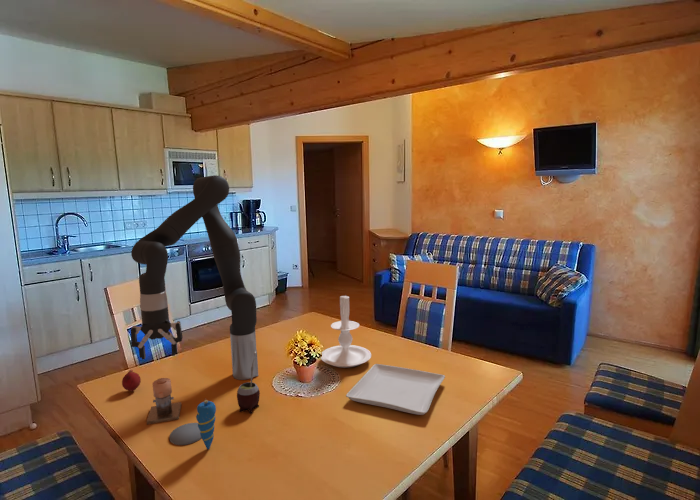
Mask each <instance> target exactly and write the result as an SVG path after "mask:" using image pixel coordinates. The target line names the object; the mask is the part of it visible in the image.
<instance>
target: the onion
mask: <svg viewBox="0 0 700 500" xmlns="http://www.w3.org/2000/svg"><path fill="white" fill-rule="evenodd" d="M141 381H142V379H141V376H140V375H139V374H138V373H137V372H134V371H133V369H129V370H128V372H127V373H126V374H125V375H124V376H123V377H122V380H121V385H122V387H123V389H124V390H126V391H128V392H134V391H135V390H136V389H137V388H139V386H140V385H141Z"/></svg>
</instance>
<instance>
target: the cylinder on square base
mask: <svg viewBox="0 0 700 500" xmlns="http://www.w3.org/2000/svg"><path fill="white" fill-rule="evenodd" d="M171 395H172V393H171V394H170V395H169V396H166V397H163V398H155V397H154V398H155V399H152V403H153V404H154V403H155V405H154V406H153V405H152V406H151V407H150V409H149V413H148V416H147V419H146V425H153V424H158V423H164V422H169V421H177V420H179V419H180V414H181V408H182V401H178V402H172V400H174V398H175V397H174V396H171Z"/></svg>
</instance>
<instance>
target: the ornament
mask: <svg viewBox="0 0 700 500" xmlns="http://www.w3.org/2000/svg"><path fill="white" fill-rule="evenodd" d="M196 412H197V413H196V416H195V418H196V419H195V420H196V421H197V423H198V428H199V430H200V435H201V440H202V441H203V443H204V445H205V448H206V449H207V450H210V448H211V446H212V444H213V440H214V436H215V435H214V432H215V422H216V412H217V407H216V404H215V402H213V401H210V400H208V399H207V398H204V401H202V402H200V403H199V404H198V405H197V407H196Z"/></svg>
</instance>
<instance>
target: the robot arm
mask: <svg viewBox="0 0 700 500" xmlns="http://www.w3.org/2000/svg"><path fill="white" fill-rule="evenodd" d="M192 192H193V196H194V198H193V199H192V200H191V201H189V202H187V203H186V204H184V205H183V206H182V207H180V208H179V209H177V210H176V211H174V212H173V213H171V214H170V215H168V216H167V218H166V219H165V220H164V221H163V222H161V224H159V225H158V227H157V228H155V229H154V230H152V231H150V232H149V233H147V234H145V235H144V236H142V237H141V238H140V239H139V240H137V241H136V242H135V243H134V244H133V247H132V249H131V258H132V260H133V261H134V262H135V263H137V264H141V265H145V266H146V267H145V272H143V273H141V274H140V275H139V278H138V284H139V293H140V294H139V296H140V297H139V308H140V315H141V316H140V317H141V326H140V325H139V326H136V325H133V326H132V327H131V329H130V346H131V347H132V348H137V349H138V354H139V355H138V356H139V358H140V359H142V360H145V359H147V358H146V354H147V353H146V346H145V344H146V342H147V341H148V340H149V339H150V340H156V339H159V340H161V339H163V338H164V339H166V340H167V341H169V343H170V344H171V345H170V347H171V356H173V357H174V356H175V355H176V354H177V352H178V343H179V342H182V341H183V331H182V325H181V324H182V323H181V321H180V320H177V321H175V322H173V323H171V321H170V315H169V305H168V304H169V302H168V296H167V290H166V281H165V280H166V279H165V277H166V272H167V266H168V262H169V254H168V249H167V248H166V247H169V246H173V245H175V244H176V243H177V242H179V240H180V239H181V238H182V237H183V236H184V235H185V234H186V233H187V232H188V231H189V230H190V229H191V228H192V227H193V226H194V225H195V223H197V222H198V221H200V219H201V218H202V220H203V223H204V227H205V229H206V232H207V233H206V234H207V236H208V239H209V245H210V249H211V251H212V255H213V258H214V261H215V264H216V268H217V270H218V273H219V275H220V279H221V282H222V288H223V289H222V290H223V294H224V300H225V304H226V307H227V308H228V310H230V311H231V312H230V314H231V324H230V325H229V336H230V337H229V338H230V350H231V351H230V353H231V367H232V377H233V378H234V379H235V380H239V381H242V380H243V381H244V380H251V367H252V363H253V360H254V358H256V359H255V362H254V366H253V368H254V369H253V377H252V379H253V378H255V377H259V364H258V350H257V336H256V334H257V333H256V325H257V320H258V319H257V302H256V298H255V296H254V295H253V294H252V293H251V292H250V291H248V290H247V288H246V285H245V284H244V281H243V277H242V273H241V251H240V247H239V243H238V239H237V236H236V234H235V232H234V231H233V229H232V228H231V227H230V225H228V223H227V222H226V220H225V219H224V218H223V216H222V214H221V212H220V208H219V205H220V204H221V203H222V202H223V201H225V200H226V199H227V197H228V195H229V192H230V185H229V182H228V181H227V179H226V178H225V177H223V176H220V175H217V174H216V175H209V176H201V177H198V178H197V179H195V180H194V182H193V185H192ZM171 328H172V329H173V330H174V331H176V332H175V333H176V337H175V336H174V335H173V333H172V332H170V330H171ZM140 331H141V333H143V334H144V336H143V337H142V339H141V340H140V341H138V334H139V333H140Z"/></svg>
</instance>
